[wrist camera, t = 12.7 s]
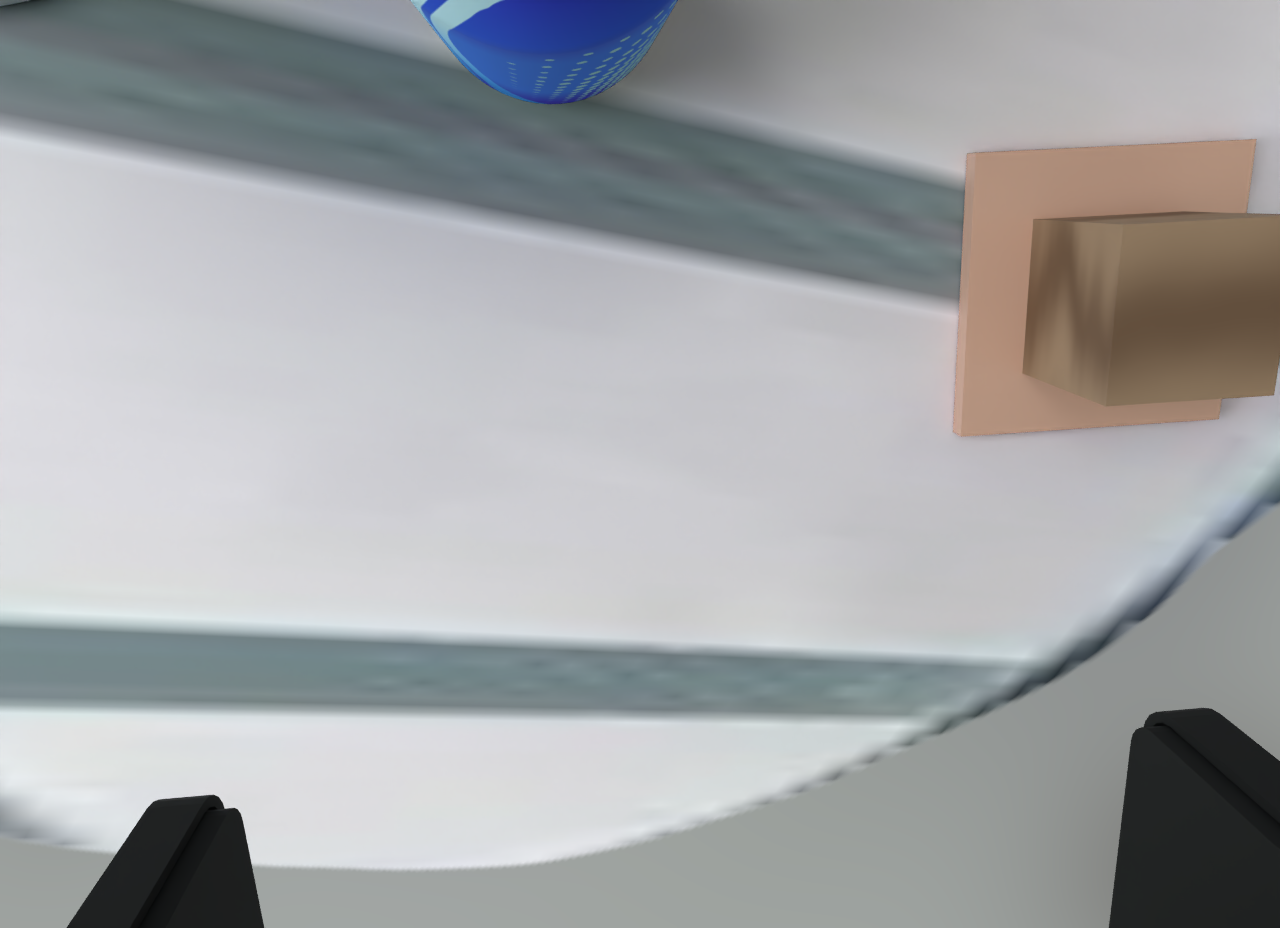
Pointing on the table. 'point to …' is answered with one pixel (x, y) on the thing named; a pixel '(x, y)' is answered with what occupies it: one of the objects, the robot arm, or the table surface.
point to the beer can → (548, 42)
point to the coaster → (1001, 251)
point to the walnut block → (1155, 306)
